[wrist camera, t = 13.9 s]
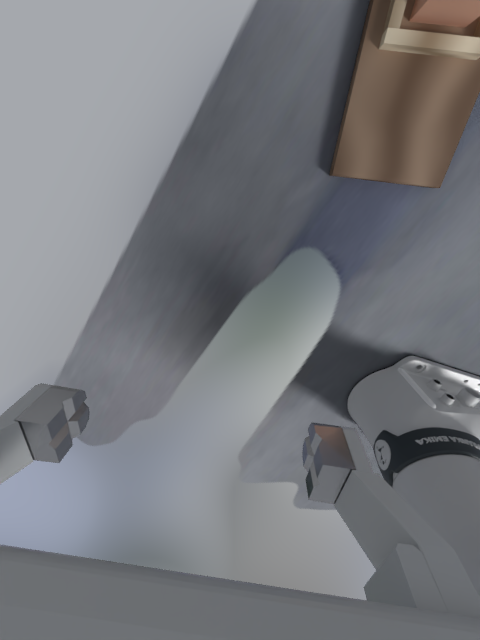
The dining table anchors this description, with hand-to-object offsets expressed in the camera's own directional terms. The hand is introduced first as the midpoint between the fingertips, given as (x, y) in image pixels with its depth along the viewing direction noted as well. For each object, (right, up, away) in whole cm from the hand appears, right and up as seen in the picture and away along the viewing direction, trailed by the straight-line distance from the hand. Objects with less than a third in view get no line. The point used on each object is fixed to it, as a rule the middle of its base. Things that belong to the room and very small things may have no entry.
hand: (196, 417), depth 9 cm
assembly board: (+19, +28, +17) cm, 38 cm away
